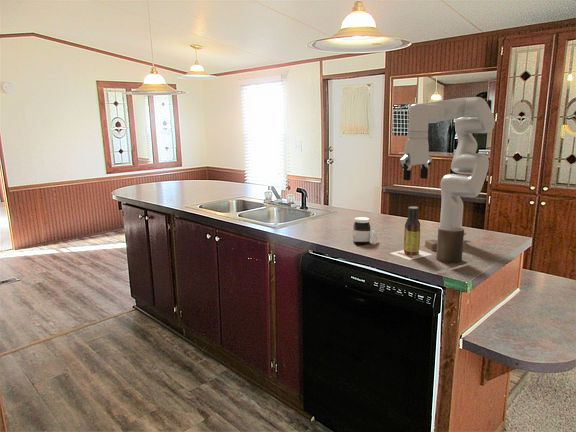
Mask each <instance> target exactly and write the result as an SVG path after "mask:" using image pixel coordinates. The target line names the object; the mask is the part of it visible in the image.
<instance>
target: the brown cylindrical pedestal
mask: <svg viewBox="0 0 576 432" xmlns="http://www.w3.org/2000/svg"><path fill="white" fill-rule="evenodd" d="M464 231H465V228H463V227H462V228H461V227H455V226H452V225H451V226H441V227H440V226H438V228H437V237H438V239H437V250H436V253H435V254H436V256H435V259H436V261H438V262H439V263H440V262H441V263H444V264H460V263H462V261H463V260H462V259H463V251H464V243H463V239H464V240H465V238H464V237H465V236H464Z"/></svg>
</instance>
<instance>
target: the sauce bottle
mask: <svg viewBox="0 0 576 432" xmlns="http://www.w3.org/2000/svg"><path fill="white" fill-rule="evenodd" d="M407 211H408V216H407V219H406V222H405V224H404V234H403V250H404V253H405V254H408V255H417V254H418V253H419V250H420V246H421V245H420V244H421V242H420V241H421V223H420V222H421V221H420V220H419V218H418V217H419V216H418V215H419V207H418V206H413V205H412V206H408V208H407Z"/></svg>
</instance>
